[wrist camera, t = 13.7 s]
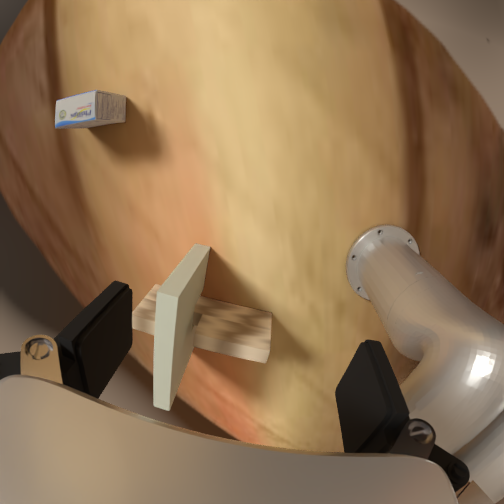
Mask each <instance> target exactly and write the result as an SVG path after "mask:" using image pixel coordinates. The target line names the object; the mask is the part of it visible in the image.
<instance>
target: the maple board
mask: <svg viewBox="0 0 504 504" xmlns="http://www.w3.org/2000/svg"><path fill="white" fill-rule="evenodd" d="M161 286H162V285H158V284H155V285H154V287H153V288H152V289H151V290H150V291H149V293H148V294H147V295H146V296H145V298H144V299H143V300H142V301H141V302H140V304H139V305H138V306H137V307H136V309H135V310H134V311H133V312H132V328H133V329H136V330H140V331H143V332H146V333H149V334H152V335H154V333H155V313H156V297H157V291H158V290H159V288H160V287H161ZM271 323H272V313H270V312H266V311H261V310H257V309H253V308H248V307H244V306H240V305H236V304H231V303H227V302H223V301H219V300H215V299H211V298H207V297H203V296H200V297H199V299H198V301H197V303H196V305H195V309H194V316H193V323H192V325H196V326H197V328H196V331H195V333H194V339H193V347H197V348H201V349H205V350H209V351H212V352H217V353H221V354H225V355H229V356H233V357H238V358H242V359H247V360H251V361H256V362H261V363H266V362H267V359H268V356H269V353H270V344H271Z"/></svg>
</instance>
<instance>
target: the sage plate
mask: <svg viewBox="0 0 504 504" xmlns="http://www.w3.org/2000/svg"><path fill="white" fill-rule="evenodd" d="M209 253H210V247H209V246H205V245H201V244H196V243H195V245H194V246H193V247H192V248H191V249H190V251H189V252H188V253H187V254H186V256H185V257H184V258H183V259H182V261H181V262H180V263H179V264H178V266H177V267H176V268H175V269H174V271H173V272H172V273H171V274H170V276H169V277H168V278H167V279H166V281H165V282H164V283H163V284H162V286H161V287H160V288H159V290H158V291H157V297H156V313H155V333H154V406H155V407H158V408H161V409H164V410H167V411H169V410H170V408H171V405H172V402H173V400H174V397H175V395H176V392H177V390H178V387H179V385H180V382H181V379H182V377H183V374H184V372H185V369H186V367H187V364H188V362H189V359H190V357H191V354H192V351H193V349H194V347H193V339H194V333H195V331H196V328H197V326H196V325H192V323H193V316H194V309H195V305H196V303H197V301H198V299H199V297H200V295H201V293H202V291H203V288H204V282H205V276H206V270H207V264H208V258H209Z"/></svg>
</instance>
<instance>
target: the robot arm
mask: <svg viewBox="0 0 504 504" xmlns="http://www.w3.org/2000/svg"><path fill="white" fill-rule="evenodd" d="M379 230H380V232H378V231H379ZM408 240H409V241H408ZM353 255H354V257H352V256H353ZM346 273H347V278H348V280H349V283H350V285H351V287H352V288H353V290H354V291H355V292H356V293H357V294H358V295H360V296H361V297H363V298H365V299H367V300H370V301H371V303H372V305H373V306H374V308H375V310H376V312H377V314H378V316H379V318H380V320H381V322H382V323H383V325H384V327H385V329H386V331H387V333H388V335H389V337H390V339H391V341H392V343H393V345H394V346H395V348H396V349H397V350H398V351H399V352H400V353H401V354H403V355H404V356H406V357H408V358H410V359H413V360H416V361H421V362H420V363H419V364H418V366H417V367H416V368H415V369H414V370H413V371H412V373H411V374H410V375H409V377H408V378H407V379H406V380H405V381H404V382H403V383H402V384H401V385H400V386H399V384H398V382H397V379H396V377H395V374H394V372H393V370H392V367H391V365H390V363H389V360H388V358H387V356H386V353H385V351H384V349H383V347H382V344H381V343H380V342H379V341H374V340H366V341H365V342H362V343H361V344H360V345H359V347H358V349H357V351H356V353H355V355H354V357H353V359H352V361H351V362H350V364H349V366H348V368H347V370H346V372H345V373H344V375H343V377H342V379H341V381H340V382H339V384H338V386H337V388H336V391H335V396H336V402H337V408H338V414H339V420H340V426H341V432H342V439H343V445H344V452H345V453H340V452H320V451H307V450H296V449H287V448H279V447H271V446H264V445H258V444H252V443H246V442H240V441H235V440H230V439H225V438H220V437H216V436H211V435H207V434H203V433H199V432H195V431H191V430H187V429H184V428H180V427H177V426H173V425H170V424H166V423H163V422H160V421H157V420H154V419H151V418H148V417H144V416H142V415H139V414H136V413H133V412H130V411H128V410H125V409H123V408H120V407H117V406H115V405H112V404H110V403H107V402H105V401H102V400H100V399H98V398H99V396H100V394H101V393H102V392H103V390H104V389H105V387H106V385H107V384H108V382H109V381H110V379H111V378H112V376H113V374H114V373H115V371H116V370H117V368H118V366H119V365H120V364H121V362H122V360H123V359H124V357H125V356H126V354H127V353H128V351H129V350H130V348H131V346H132V289H129V285H128V284H125V283H122V282H119V281H114V282H113V283H111V284H110V285H109V286H108V287H107V288H106V289H105V290H104V291H103V292H102V293H101V294H100V295H99V296H98V297H96V298H95V299H94V300H93V301H92V302H91V303H90V304H89V305H88V306H87V307H85V308H84V309H83V310H82V311H81V312H80V313H79V314H78V315H77V316H76V317H75V318H74V319H73V320H72V321H71V322H70V323H69V324H68V325H67V326H66V327H65V328H64V329H63V330H62V331H61V332H60V333H59V334H58V335H57V336H56V337H55V338H54V339H52V338H50V337H49V336H45V335H35V336H32V337H30V338H27V339H26V340H25V341H24V342H23V344H22V346H21V351H20V352H12V353H5V354H0V504H495V503H496V502H498V501H499V500H501V499H502V498H503V497H504V324H502V323H501V322H499V321H498V320H496V319H495V318H493V317H492V316H490V315H489V314H487V313H486V312H484V311H483V310H482V309H480V308H479V307H478V306H476V305H475V304H474V303H472V302H471V301H470V300H469V299H468V298H466V297H465V296H464V295H463V294H462V293H461V292H460V291H459V290H458V289H456V288H455V287H454V286H453V285H452V284H451V283H450V282H449V281H448V280H446V279H445V278H444V277H443V276H442V275H441V274H440V273H439V272H438V271H437V270H436V269H434V268H433V267H432V266H431V265H430V264H429V263H428V262H427V261H426V260H424V259H423V258H422V257H421V256H420V253H419V249H418V245H417V243H416V241H415V239H414V238H413V237H412V236H411V235H410V234H409V233H408V232H407V231H405V230H404V229H402V228H400V227H398V226H394V225H379V226H376V227H373V228H371V229H369V230H368V231H366V232H364V233H363V234H362V235H361V236H360V237H359V238H358V239H357V240H356V241H355V242H354V244H353V245H352V247H351V249H350V251H349V254H348V256H347V261H346ZM358 287H359V288H358Z"/></svg>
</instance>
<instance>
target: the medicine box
mask: <svg viewBox="0 0 504 504" xmlns="http://www.w3.org/2000/svg"><path fill="white" fill-rule="evenodd" d="M125 117H126V96H123V95H118V94H114V93H109V92H105V91H100V90H94V91H90V92H86V93H82V94H78V95H74V96H70V97H67V98H63V99H60V100H57V102H56V114H55V128H90V127H95V126H101V125H107V124H114V123H121V122H125Z"/></svg>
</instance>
